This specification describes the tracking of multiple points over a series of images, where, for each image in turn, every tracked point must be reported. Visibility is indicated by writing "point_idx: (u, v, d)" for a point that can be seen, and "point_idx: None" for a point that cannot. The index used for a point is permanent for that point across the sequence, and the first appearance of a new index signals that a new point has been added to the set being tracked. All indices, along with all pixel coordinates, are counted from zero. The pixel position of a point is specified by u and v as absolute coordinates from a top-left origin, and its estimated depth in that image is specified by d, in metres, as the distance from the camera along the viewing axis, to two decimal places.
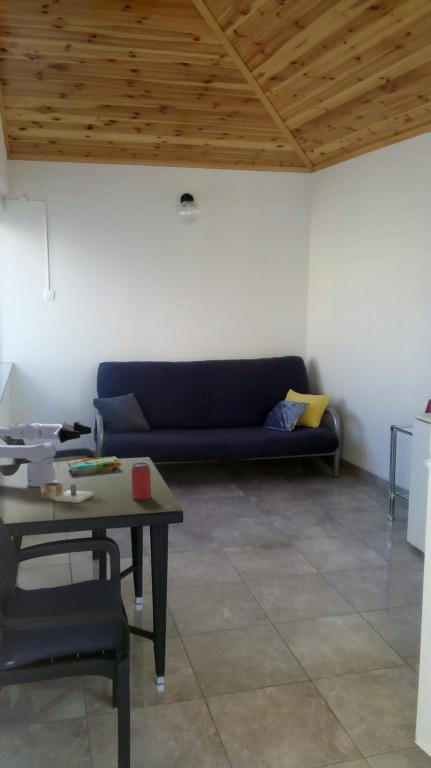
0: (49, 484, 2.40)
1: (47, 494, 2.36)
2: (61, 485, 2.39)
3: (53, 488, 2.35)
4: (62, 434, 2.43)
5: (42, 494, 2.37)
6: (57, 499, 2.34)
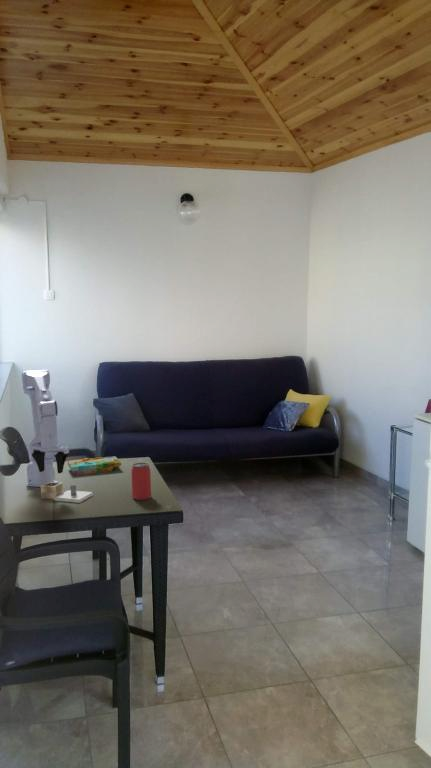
0: (49, 484, 2.40)
1: (47, 494, 2.36)
2: (61, 485, 2.39)
3: (53, 488, 2.35)
4: None
5: (42, 494, 2.37)
6: (57, 499, 2.34)
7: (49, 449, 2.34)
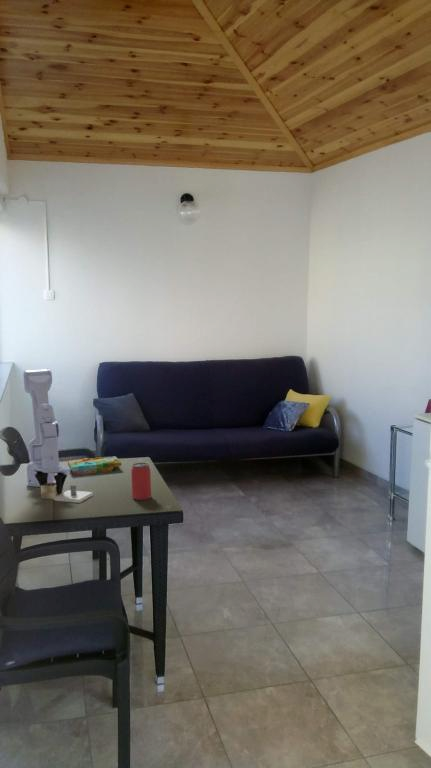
0: (49, 484, 2.40)
1: (47, 494, 2.36)
2: None
3: (53, 488, 2.35)
4: None
5: (42, 494, 2.37)
6: (57, 499, 2.34)
7: (50, 470, 2.35)
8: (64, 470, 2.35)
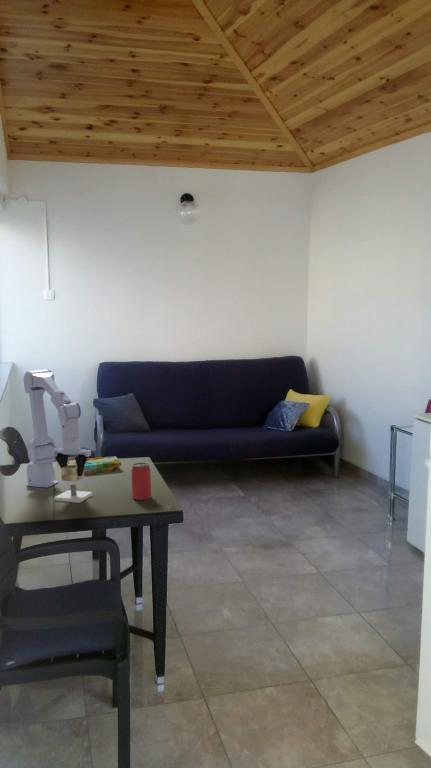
0: (69, 466, 2.37)
1: (68, 476, 2.33)
2: None
3: (74, 470, 2.32)
4: None
5: (63, 476, 2.34)
6: (57, 499, 2.34)
7: (71, 452, 2.32)
8: (85, 452, 2.32)
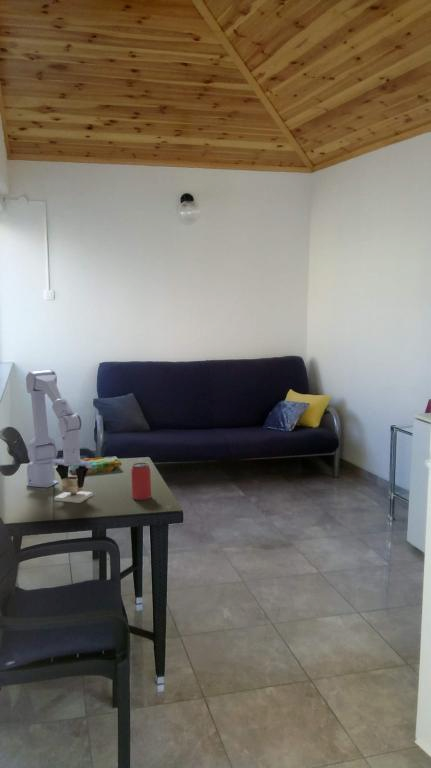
0: (70, 478, 2.38)
1: (68, 488, 2.34)
2: None
3: (74, 481, 2.32)
4: None
5: (63, 487, 2.34)
6: (57, 499, 2.34)
7: (72, 463, 2.32)
8: (86, 463, 2.32)
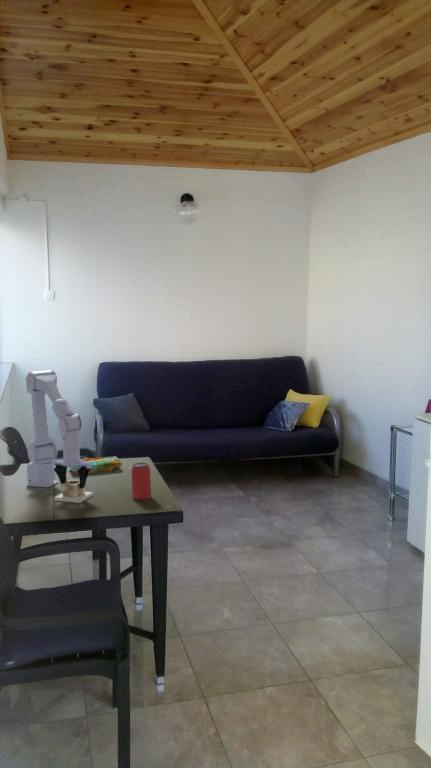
0: (70, 482, 2.38)
1: (68, 492, 2.34)
2: None
3: (75, 486, 2.33)
4: None
5: (64, 492, 2.34)
6: (57, 499, 2.34)
7: (72, 464, 2.32)
8: (86, 464, 2.32)
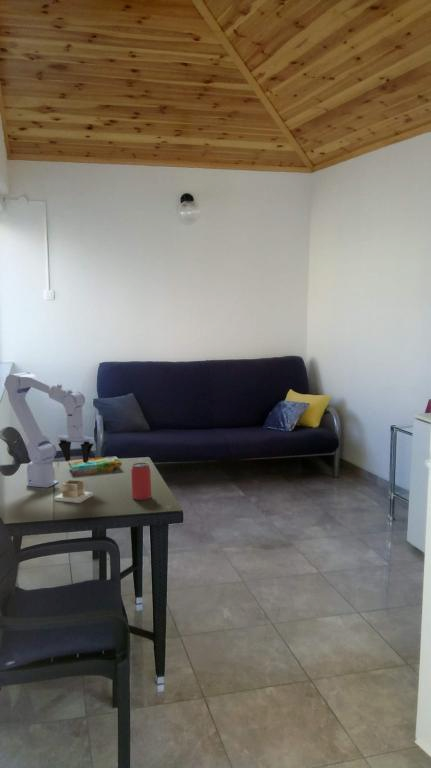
0: (70, 482, 2.38)
1: (68, 492, 2.34)
2: (82, 483, 2.37)
3: (75, 486, 2.33)
4: None
5: (64, 492, 2.34)
6: (57, 499, 2.34)
7: (75, 439, 2.44)
8: (88, 439, 2.44)
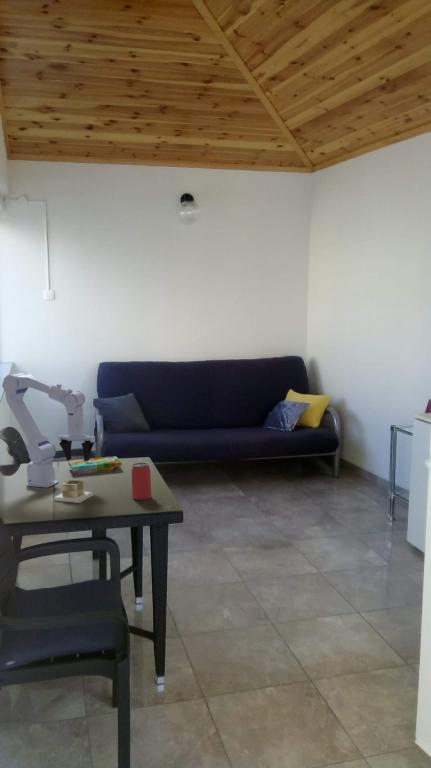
0: (70, 482, 2.38)
1: (68, 492, 2.34)
2: (82, 483, 2.37)
3: (75, 486, 2.33)
4: None
5: (64, 492, 2.34)
6: (57, 499, 2.34)
7: (76, 438, 2.45)
8: (89, 438, 2.45)
